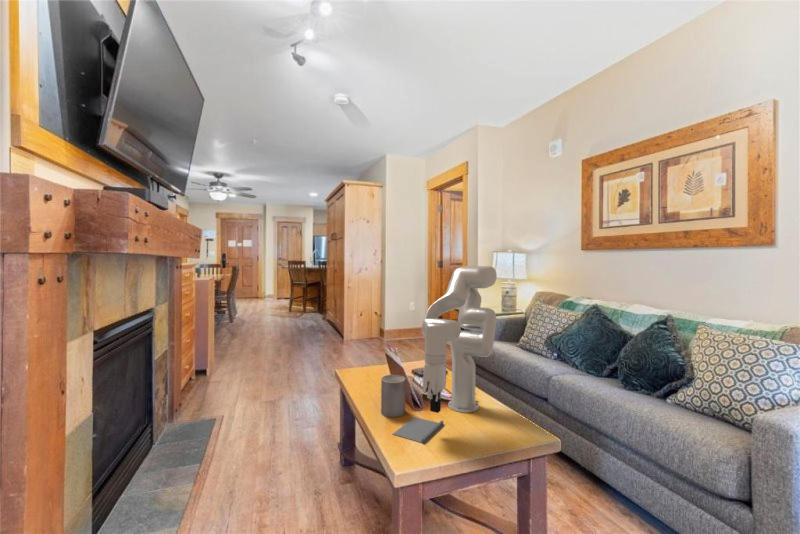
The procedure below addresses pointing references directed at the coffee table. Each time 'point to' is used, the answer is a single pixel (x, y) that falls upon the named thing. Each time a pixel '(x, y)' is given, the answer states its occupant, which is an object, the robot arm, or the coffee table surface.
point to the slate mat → (419, 430)
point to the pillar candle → (393, 395)
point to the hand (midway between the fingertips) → (435, 411)
